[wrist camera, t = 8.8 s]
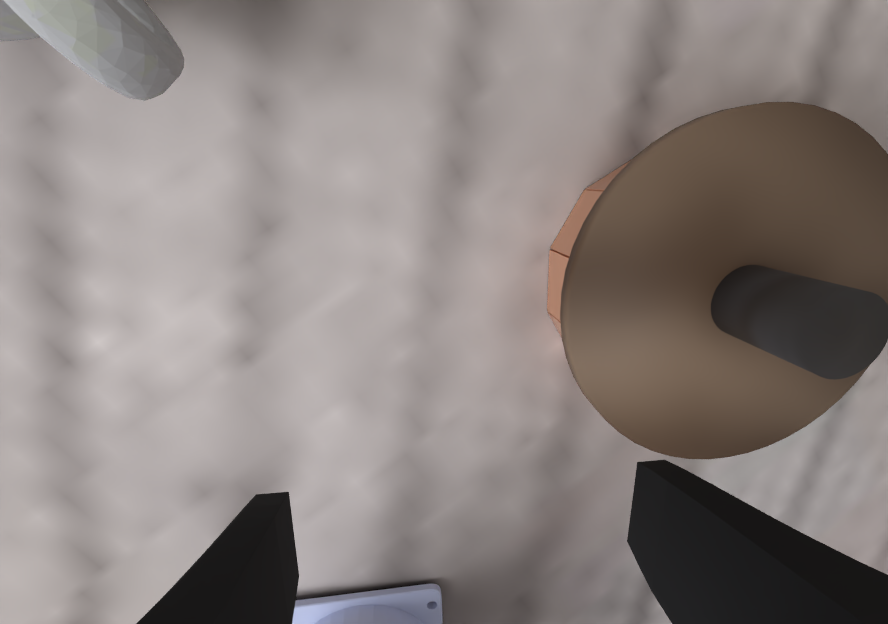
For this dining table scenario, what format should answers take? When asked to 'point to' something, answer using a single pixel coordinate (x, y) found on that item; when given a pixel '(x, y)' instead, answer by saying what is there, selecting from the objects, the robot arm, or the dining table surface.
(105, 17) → the teacup
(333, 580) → the dining table surface
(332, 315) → the dining table surface
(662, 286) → the lid
